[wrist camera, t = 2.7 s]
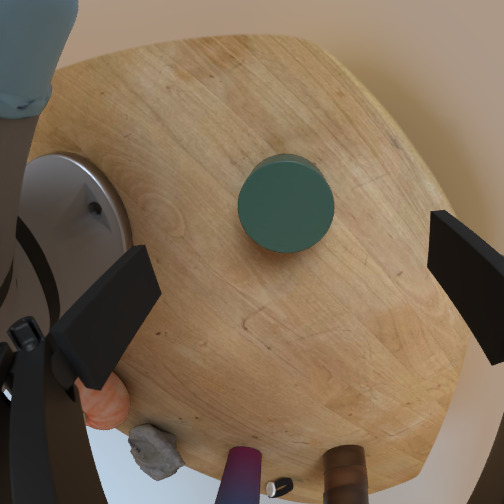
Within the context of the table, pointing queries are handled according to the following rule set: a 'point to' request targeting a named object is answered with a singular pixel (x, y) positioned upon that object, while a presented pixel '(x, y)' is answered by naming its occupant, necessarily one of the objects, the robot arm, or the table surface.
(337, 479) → the brown jar
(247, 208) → the green cylinder
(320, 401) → the table surface
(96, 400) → the tomato
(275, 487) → the watch
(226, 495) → the cup
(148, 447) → the fossil
